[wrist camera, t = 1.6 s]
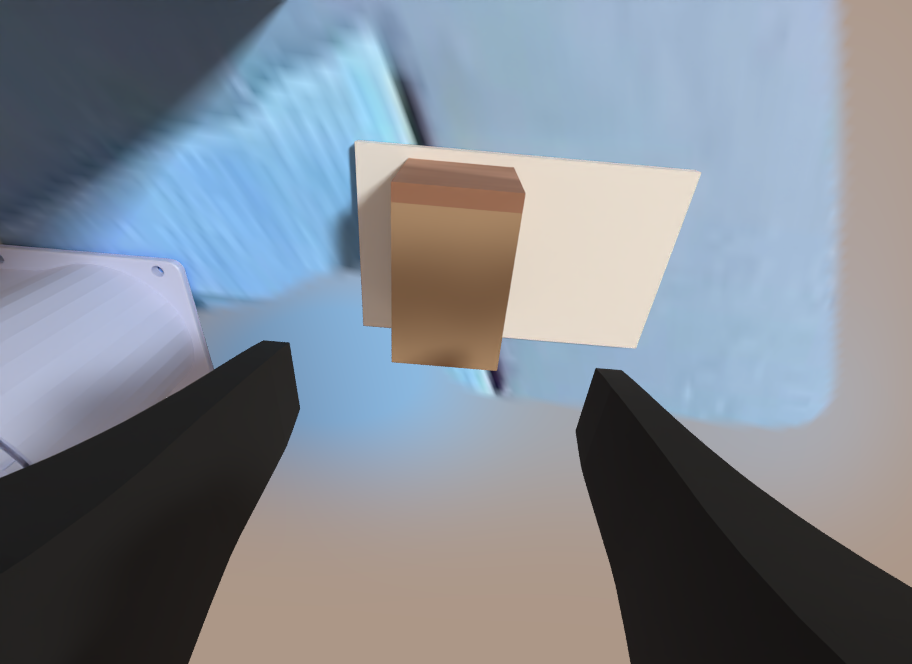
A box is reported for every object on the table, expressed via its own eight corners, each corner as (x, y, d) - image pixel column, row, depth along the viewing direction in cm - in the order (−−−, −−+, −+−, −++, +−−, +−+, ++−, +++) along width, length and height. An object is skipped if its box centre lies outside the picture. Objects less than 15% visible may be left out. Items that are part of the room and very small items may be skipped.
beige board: (365, 320, 20) (363, 325, 20) (357, 140, 16) (354, 141, 15) (632, 342, 20) (635, 348, 20) (695, 170, 16) (701, 172, 16)
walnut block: (492, 318, 19) (496, 370, 16) (405, 310, 19) (391, 362, 16) (514, 167, 16) (525, 193, 12) (408, 158, 16) (390, 181, 12)
